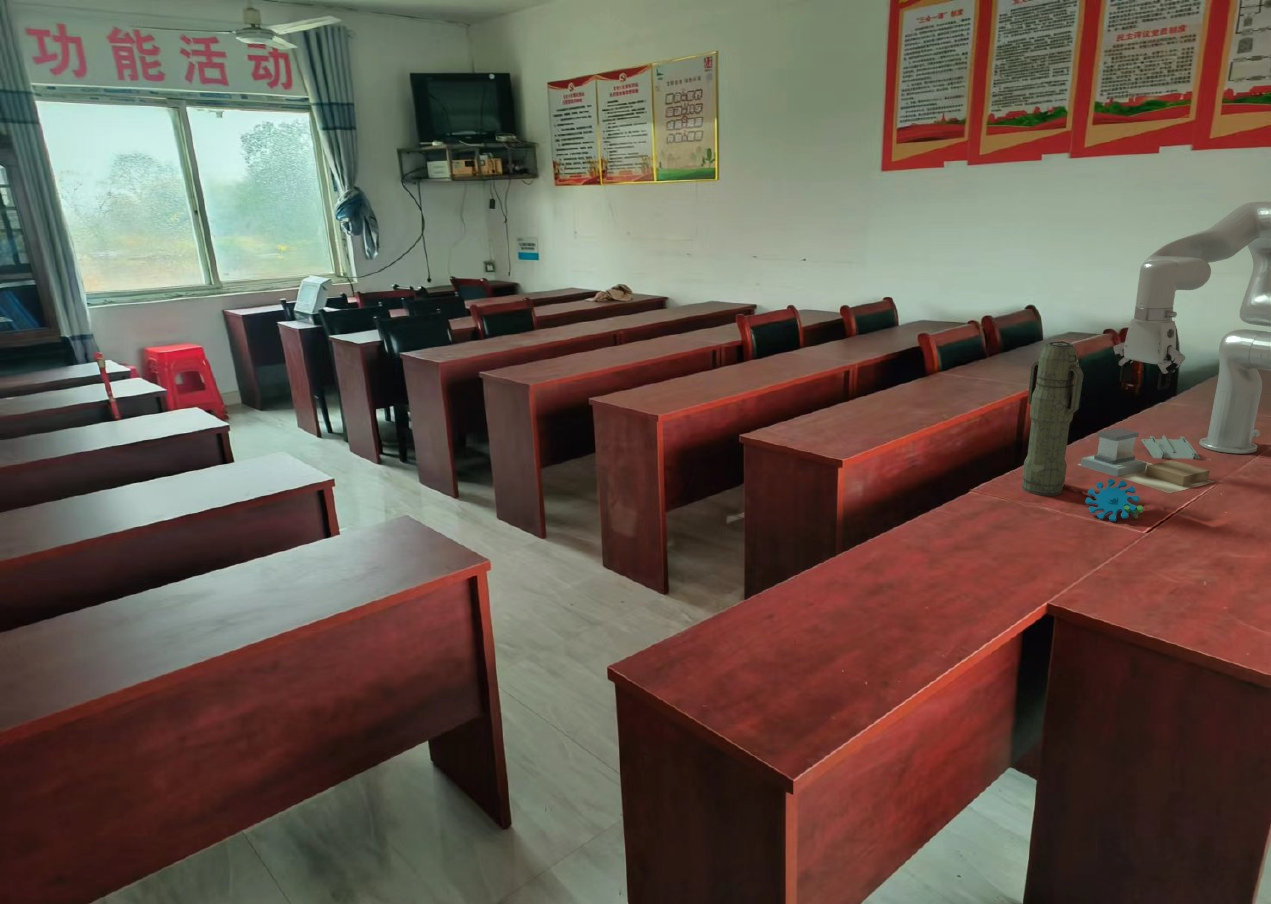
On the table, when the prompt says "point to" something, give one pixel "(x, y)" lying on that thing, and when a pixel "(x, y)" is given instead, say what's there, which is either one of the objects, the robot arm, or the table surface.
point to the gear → (1114, 501)
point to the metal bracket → (1170, 448)
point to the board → (1158, 481)
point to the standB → (1114, 466)
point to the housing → (1116, 446)
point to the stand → (1177, 473)
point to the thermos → (1051, 417)
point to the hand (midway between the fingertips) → (1143, 384)
